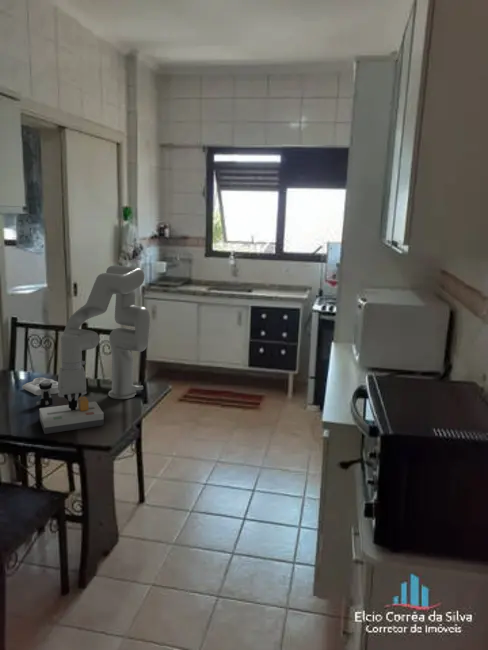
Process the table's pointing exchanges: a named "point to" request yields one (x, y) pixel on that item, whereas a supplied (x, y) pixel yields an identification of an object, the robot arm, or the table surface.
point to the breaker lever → (83, 403)
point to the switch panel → (70, 418)
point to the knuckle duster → (35, 387)
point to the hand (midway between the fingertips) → (72, 409)
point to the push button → (45, 393)
